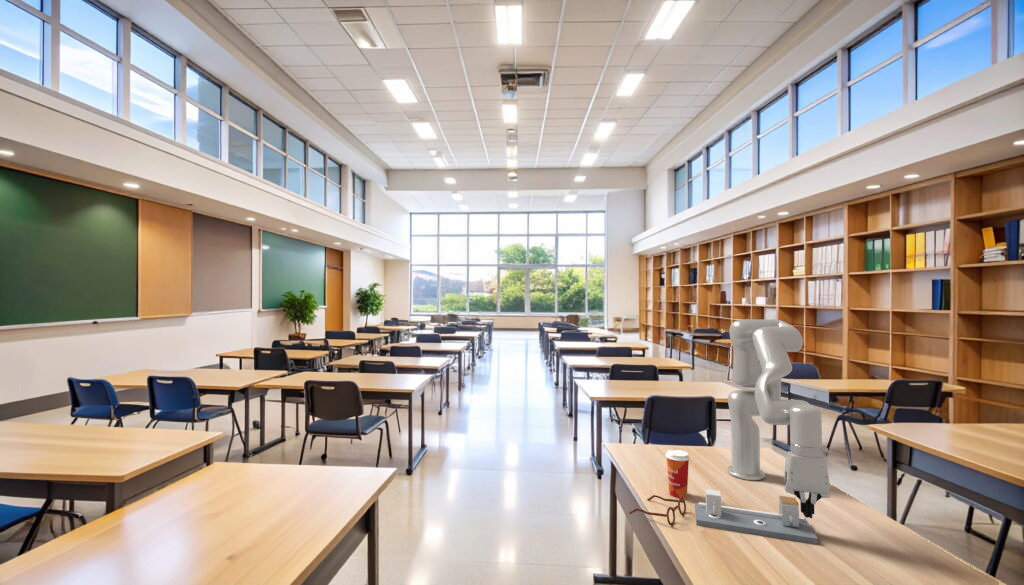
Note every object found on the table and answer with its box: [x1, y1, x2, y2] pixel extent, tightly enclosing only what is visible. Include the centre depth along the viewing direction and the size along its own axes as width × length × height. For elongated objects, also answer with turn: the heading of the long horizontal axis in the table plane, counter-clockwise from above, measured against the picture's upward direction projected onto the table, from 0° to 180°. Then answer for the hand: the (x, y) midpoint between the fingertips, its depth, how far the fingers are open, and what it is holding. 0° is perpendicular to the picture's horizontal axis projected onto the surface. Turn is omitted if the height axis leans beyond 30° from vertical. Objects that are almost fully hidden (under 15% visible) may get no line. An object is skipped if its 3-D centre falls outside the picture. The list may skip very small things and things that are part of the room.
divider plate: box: [694, 488, 819, 545], centre depth 129 cm, size 12×30×8 cm, turn 69°
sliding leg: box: [778, 495, 800, 527], centre depth 125 cm, size 5×4×7 cm
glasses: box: [628, 494, 687, 526], centre depth 136 cm, size 13×13×5 cm
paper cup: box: [665, 449, 691, 499], centre depth 149 cm, size 8×8×14 cm
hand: (807, 515), depth 124 cm, fingers closed
